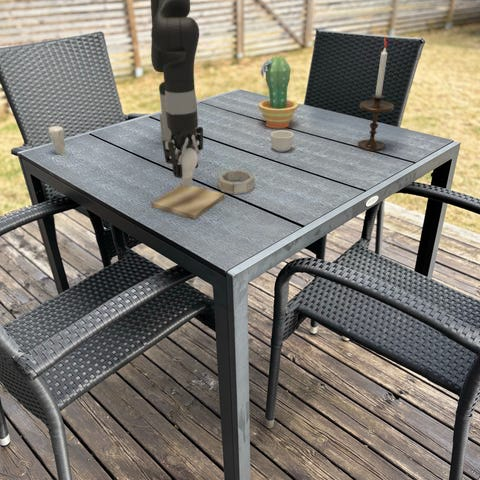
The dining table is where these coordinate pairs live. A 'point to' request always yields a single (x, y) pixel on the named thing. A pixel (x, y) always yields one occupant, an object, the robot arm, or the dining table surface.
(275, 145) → the teacup
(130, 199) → the dining table surface
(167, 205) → the oak board
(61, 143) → the milkshake
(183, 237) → the dining table surface
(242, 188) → the collar
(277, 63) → the potted cactus
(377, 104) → the candlestick
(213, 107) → the dining table surface
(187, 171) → the lightbulb
